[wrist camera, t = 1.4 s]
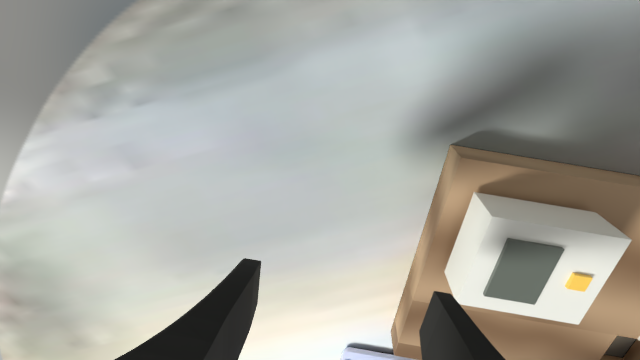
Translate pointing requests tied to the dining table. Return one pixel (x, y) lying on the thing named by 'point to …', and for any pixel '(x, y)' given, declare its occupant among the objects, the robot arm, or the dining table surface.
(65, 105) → the dining table surface
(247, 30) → the dining table surface
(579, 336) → the board
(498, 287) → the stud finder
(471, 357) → the robot arm
